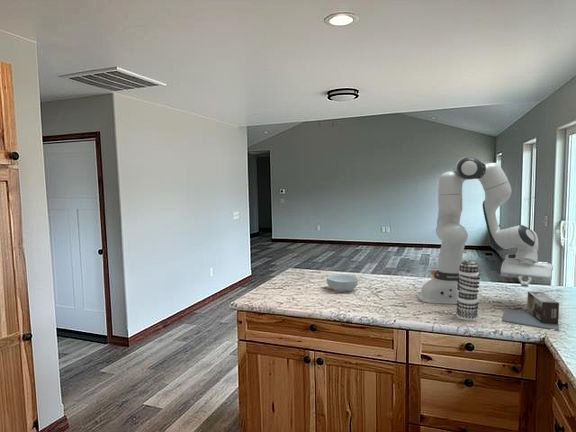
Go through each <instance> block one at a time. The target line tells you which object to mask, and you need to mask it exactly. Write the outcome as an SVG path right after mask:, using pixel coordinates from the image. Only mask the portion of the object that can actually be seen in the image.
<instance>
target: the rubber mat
mask: <svg viewBox="0 0 576 432" xmlns="http://www.w3.org/2000/svg"><path fill="white" fill-rule="evenodd" d="M501 321H502V322H504V323H509V324H515V325H522V326H525V327H526V326H527V327H532V328H540V329H544V328H545V330H550V329H555V330H554V331H556V330H559V331H560V326H559V323H558V324H549V323H541V322H540V321H539V320H538V319H536V318H535V317H534V316H533V315H532V314H530V313H529V312H528V311H523V310H517V309H513V308H512V309H510V308H504V313H503V316H502V320H501Z"/></svg>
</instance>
